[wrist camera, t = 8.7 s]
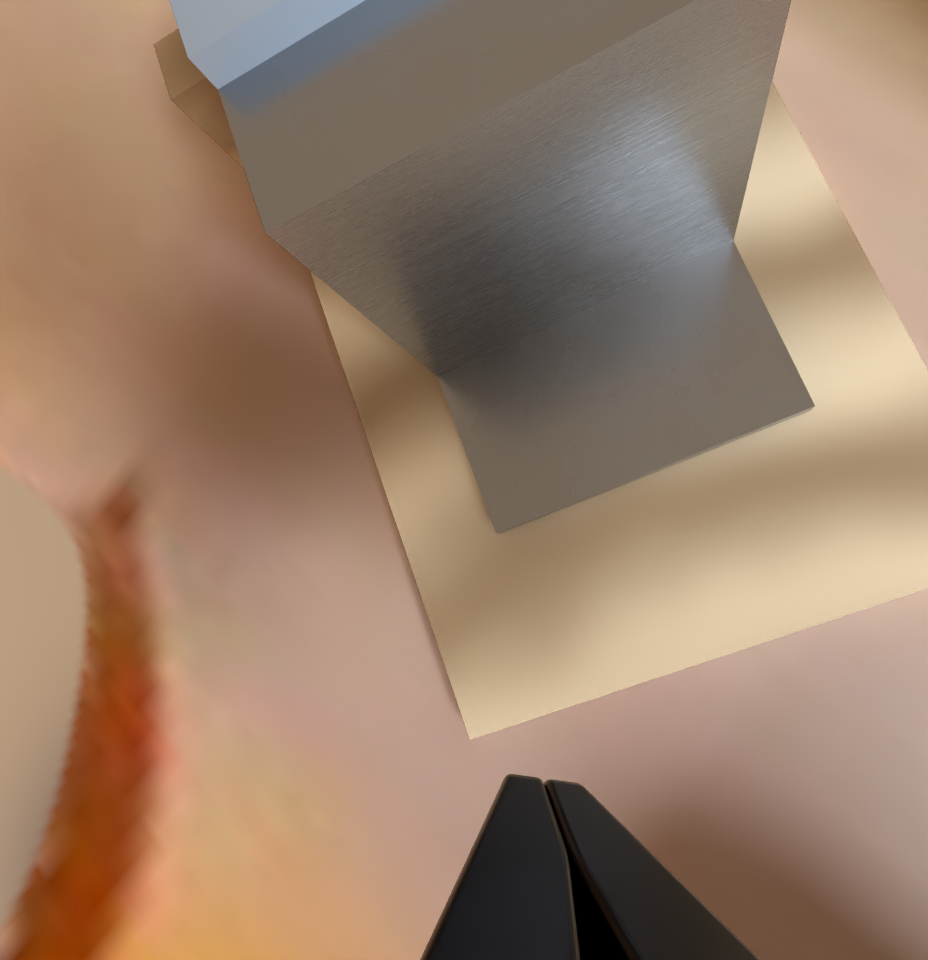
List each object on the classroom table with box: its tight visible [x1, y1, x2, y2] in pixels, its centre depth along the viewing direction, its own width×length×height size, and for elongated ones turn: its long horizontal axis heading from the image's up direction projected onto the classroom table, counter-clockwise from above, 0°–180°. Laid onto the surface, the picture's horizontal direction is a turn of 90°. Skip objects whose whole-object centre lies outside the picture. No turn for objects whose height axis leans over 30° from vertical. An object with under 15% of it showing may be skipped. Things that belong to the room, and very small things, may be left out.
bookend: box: [218, 0, 815, 534], centre depth 15 cm, size 8×9×10 cm
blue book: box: [169, 0, 365, 89], centre depth 16 cm, size 2×9×11 cm, turn 111°
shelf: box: [154, 29, 928, 740], centre depth 18 cm, size 20×15×7 cm
